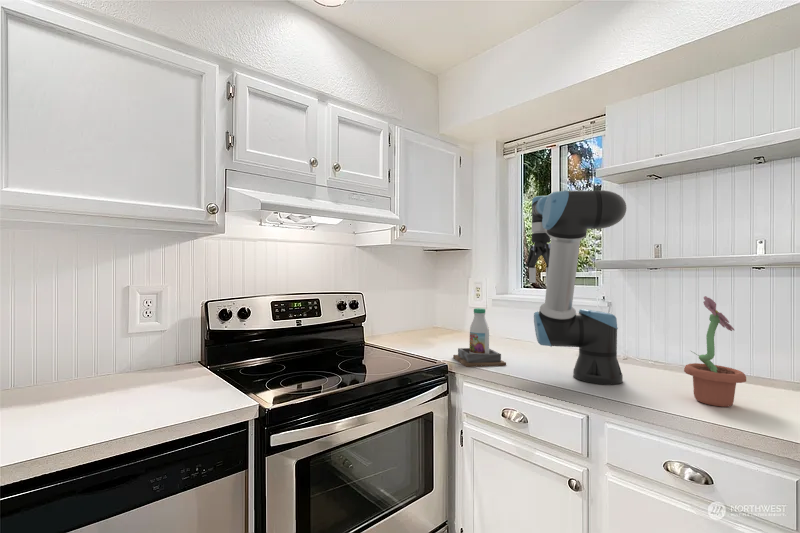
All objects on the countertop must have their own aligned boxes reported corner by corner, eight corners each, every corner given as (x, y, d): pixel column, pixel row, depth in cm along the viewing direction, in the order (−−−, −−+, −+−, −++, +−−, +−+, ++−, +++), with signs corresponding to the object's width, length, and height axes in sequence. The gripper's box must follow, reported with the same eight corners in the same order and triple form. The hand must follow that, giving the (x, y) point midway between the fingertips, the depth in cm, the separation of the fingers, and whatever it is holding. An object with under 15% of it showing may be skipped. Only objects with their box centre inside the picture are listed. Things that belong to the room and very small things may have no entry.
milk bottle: (477, 355, 167) (478, 307, 167) (493, 358, 161) (493, 308, 161) (465, 358, 162) (465, 308, 162) (480, 361, 156) (481, 310, 156)
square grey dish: (506, 365, 155) (506, 354, 155) (466, 366, 153) (466, 355, 153) (489, 356, 171) (489, 346, 171) (453, 357, 168) (453, 347, 168)
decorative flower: (753, 416, 103) (754, 299, 104) (687, 406, 110) (688, 296, 110) (739, 400, 116) (739, 296, 117) (681, 392, 123) (681, 294, 123)
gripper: (566, 230, 160) (565, 284, 160) (534, 236, 185) (533, 282, 184) (548, 229, 159) (548, 283, 158) (518, 235, 183) (518, 282, 183)
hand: (540, 283), depth 171 cm, fingers open, 13 cm apart
